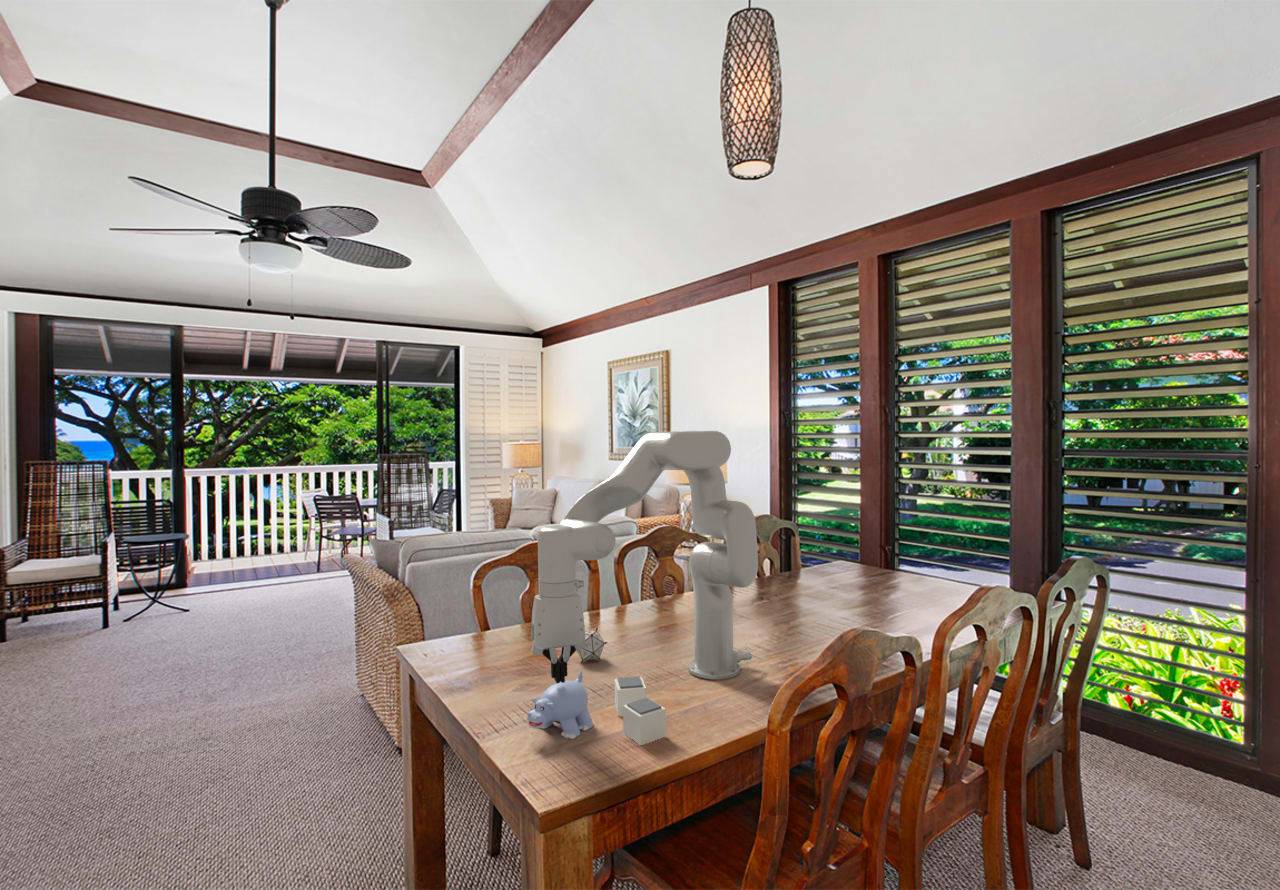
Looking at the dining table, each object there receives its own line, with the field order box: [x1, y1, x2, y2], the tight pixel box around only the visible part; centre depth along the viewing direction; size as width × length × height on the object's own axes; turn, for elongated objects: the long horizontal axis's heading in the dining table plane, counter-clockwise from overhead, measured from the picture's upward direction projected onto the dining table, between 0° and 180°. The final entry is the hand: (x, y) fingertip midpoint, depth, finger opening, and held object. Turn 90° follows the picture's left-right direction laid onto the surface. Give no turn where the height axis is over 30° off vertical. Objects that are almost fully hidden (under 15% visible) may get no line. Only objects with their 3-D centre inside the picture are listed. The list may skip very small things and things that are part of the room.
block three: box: [613, 675, 647, 717], centre depth 133 cm, size 6×6×6 cm
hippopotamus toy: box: [526, 669, 594, 740], centre depth 124 cm, size 11×15×10 cm
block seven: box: [622, 697, 667, 746], centre depth 121 cm, size 6×6×6 cm
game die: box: [576, 626, 608, 664], centre depth 162 cm, size 9×8×10 cm
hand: (559, 680), depth 124 cm, fingers closed
